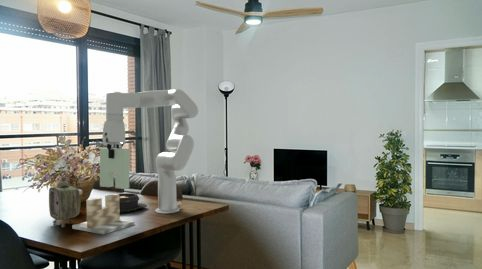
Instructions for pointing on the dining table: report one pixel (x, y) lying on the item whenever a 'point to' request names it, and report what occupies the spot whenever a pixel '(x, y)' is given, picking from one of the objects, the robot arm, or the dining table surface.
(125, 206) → the casserole
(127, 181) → the sage slotted plate
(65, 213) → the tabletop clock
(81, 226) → the birch slotted base
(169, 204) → the robot arm
